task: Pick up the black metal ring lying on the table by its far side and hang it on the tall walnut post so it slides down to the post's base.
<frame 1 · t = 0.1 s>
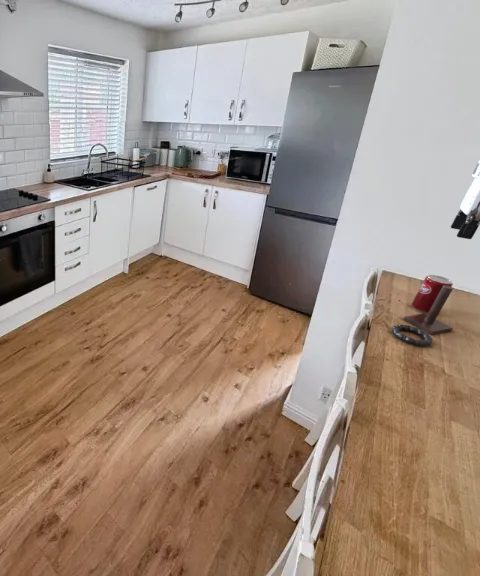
hand: (460, 233, 106), 31 cm above the table, tool pointing down, fingers open, 9 cm apart
soda can: (423, 309, 130), on the table
ring: (411, 335, 114), point 1 cm above the table
post: (426, 325, 121), on the table
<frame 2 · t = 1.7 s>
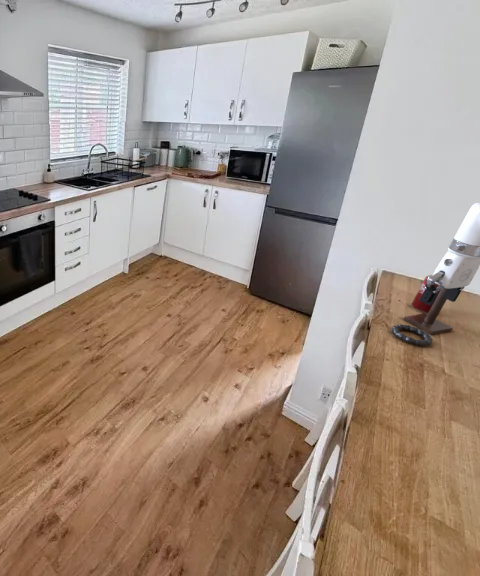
hand: (436, 301, 110), 12 cm above the table, tool pointing down, fingers open, 9 cm apart
nothing on the table moved.
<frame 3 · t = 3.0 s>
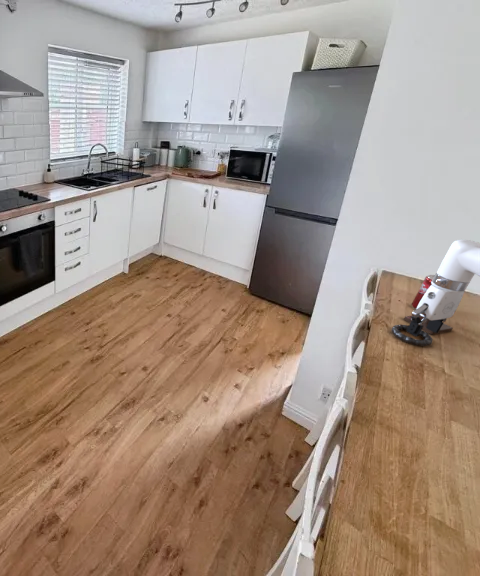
hand: (421, 331, 115), 1 cm above the table, tool pointing down, fingers open, 7 cm apart
nothing on the table moved.
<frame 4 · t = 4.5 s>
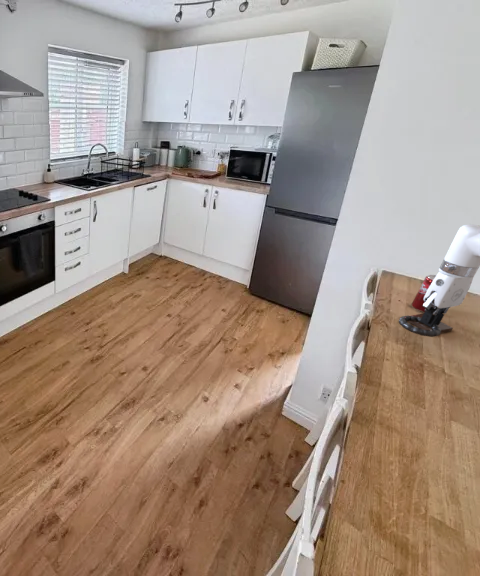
hand: (429, 323, 112), 5 cm above the table, tool pointing down, fingers closed on ring
ring: (419, 325, 112), point 5 cm above the table, touching gripper
everything else where it was.
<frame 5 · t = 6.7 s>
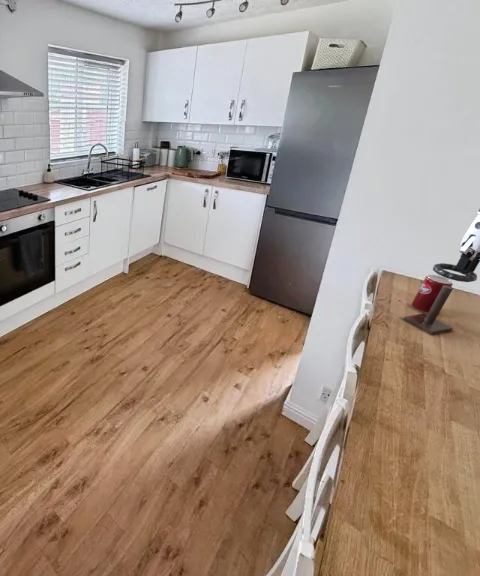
hand: (464, 270, 111), 20 cm above the table, tool pointing down, fingers closed on ring
ring: (454, 272, 110), point 20 cm above the table, touching gripper
everything else where it was.
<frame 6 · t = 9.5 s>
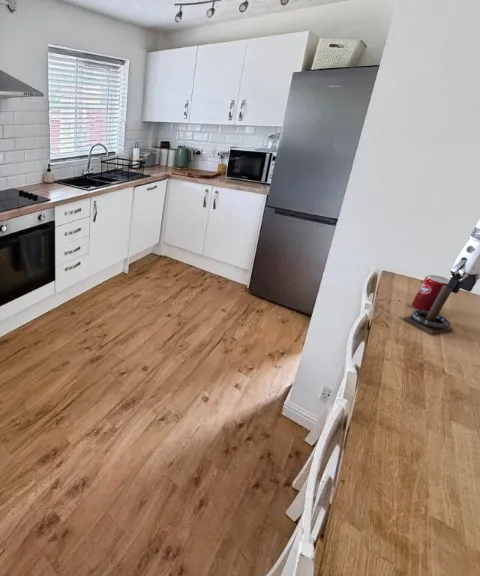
hand: (457, 289, 116), 13 cm above the table, tool pointing down, fingers open, 5 cm apart
ring: (430, 319, 120), point 2 cm above the table, touching post
everything else where it was.
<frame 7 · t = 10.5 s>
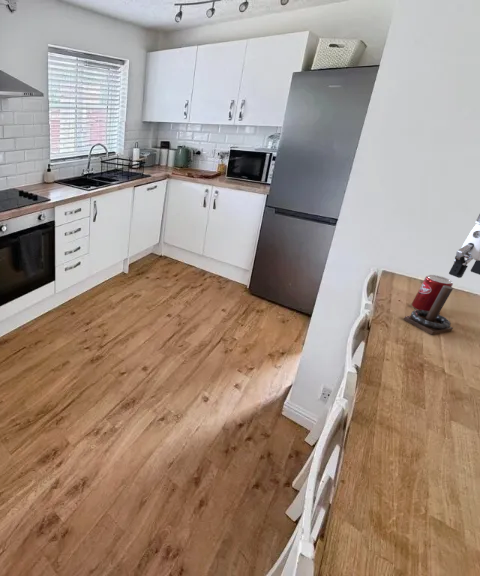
hand: (465, 274, 113), 18 cm above the table, tool pointing down, fingers open, 9 cm apart
nothing on the table moved.
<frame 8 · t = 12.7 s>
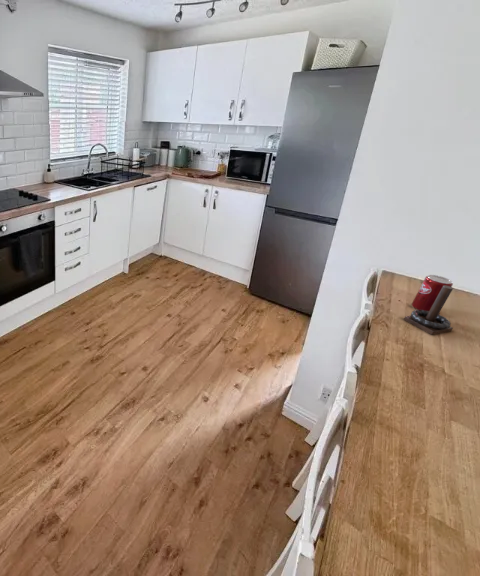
nothing on the table moved.
at the end: ring 0.5 cm off-centre on the post, point 2.1 cm above the post's base; the gripper is holding nothing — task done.
